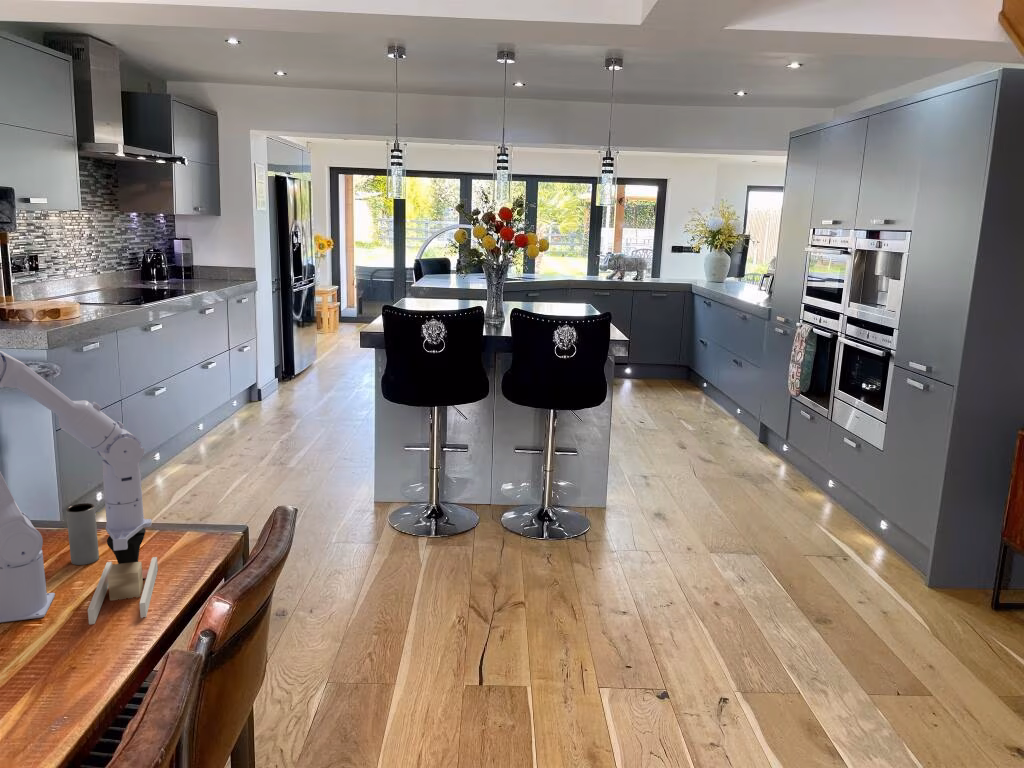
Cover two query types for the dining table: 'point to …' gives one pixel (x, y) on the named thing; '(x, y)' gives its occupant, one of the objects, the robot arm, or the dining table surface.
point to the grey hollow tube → (82, 533)
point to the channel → (104, 585)
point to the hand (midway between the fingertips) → (129, 573)
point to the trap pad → (145, 573)
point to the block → (125, 580)
